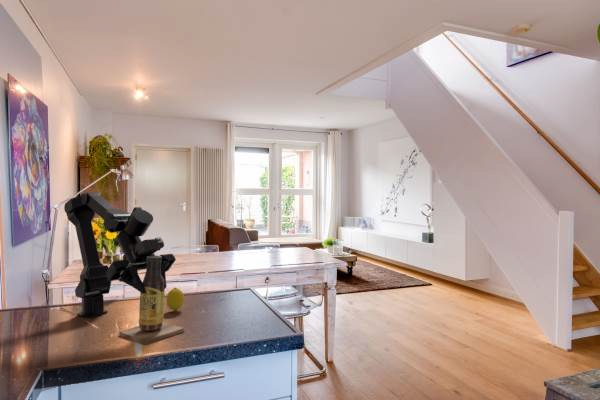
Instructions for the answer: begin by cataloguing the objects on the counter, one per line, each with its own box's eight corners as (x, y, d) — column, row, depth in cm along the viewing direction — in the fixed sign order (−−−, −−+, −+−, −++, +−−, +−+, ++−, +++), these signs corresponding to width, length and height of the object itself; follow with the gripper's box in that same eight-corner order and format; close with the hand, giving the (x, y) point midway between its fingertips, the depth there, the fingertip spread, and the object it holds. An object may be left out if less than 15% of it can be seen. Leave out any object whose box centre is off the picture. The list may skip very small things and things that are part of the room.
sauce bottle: (133, 330, 101) (134, 257, 101) (148, 323, 107) (149, 254, 107) (154, 333, 100) (155, 258, 100) (168, 325, 106) (169, 255, 106)
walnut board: (119, 335, 102) (119, 331, 102) (158, 323, 112) (158, 320, 112) (145, 344, 95) (145, 340, 95) (184, 331, 105) (184, 328, 105)
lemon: (178, 314, 121) (178, 289, 122) (163, 313, 123) (163, 288, 123) (186, 309, 127) (187, 286, 127) (172, 308, 128) (172, 285, 128)
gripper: (112, 230, 98) (135, 277, 92) (172, 226, 114) (196, 267, 107) (96, 257, 103) (117, 304, 96) (156, 250, 118) (178, 290, 112)
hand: (155, 290), depth 103 cm, fingers closed on sauce bottle, 6 cm apart
